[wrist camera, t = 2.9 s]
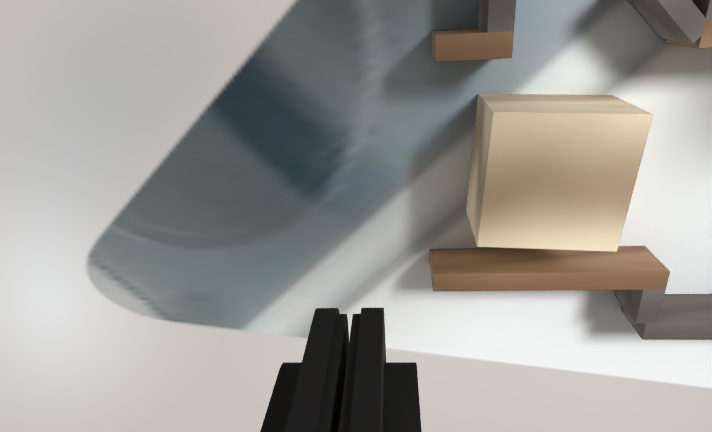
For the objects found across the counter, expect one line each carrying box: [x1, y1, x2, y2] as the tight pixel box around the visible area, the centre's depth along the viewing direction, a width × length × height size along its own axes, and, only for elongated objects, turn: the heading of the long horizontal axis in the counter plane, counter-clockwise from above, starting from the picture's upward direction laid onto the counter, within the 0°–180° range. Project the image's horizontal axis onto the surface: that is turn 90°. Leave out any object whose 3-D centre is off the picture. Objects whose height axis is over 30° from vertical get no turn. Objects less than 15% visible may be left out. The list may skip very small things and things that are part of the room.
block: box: [466, 94, 653, 252], centre depth 21 cm, size 6×6×4 cm
